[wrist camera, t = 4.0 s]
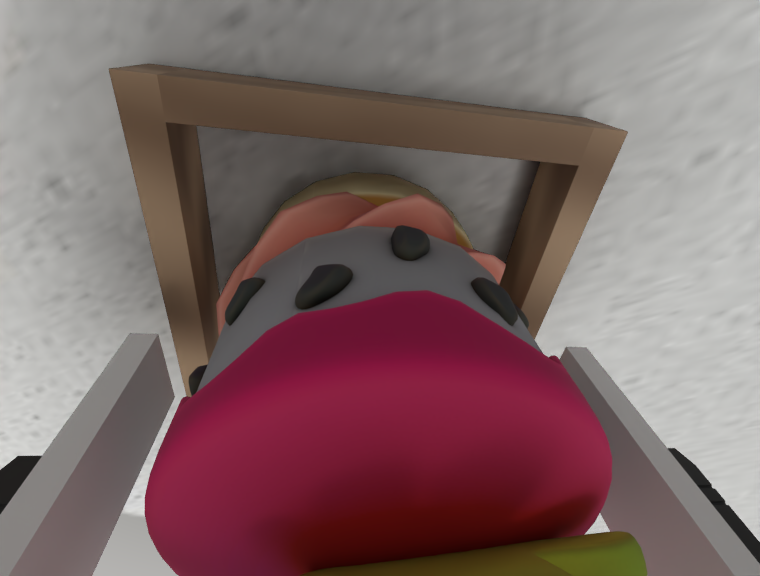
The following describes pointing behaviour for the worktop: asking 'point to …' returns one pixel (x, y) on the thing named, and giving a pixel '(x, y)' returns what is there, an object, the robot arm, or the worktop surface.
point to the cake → (380, 411)
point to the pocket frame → (354, 124)
